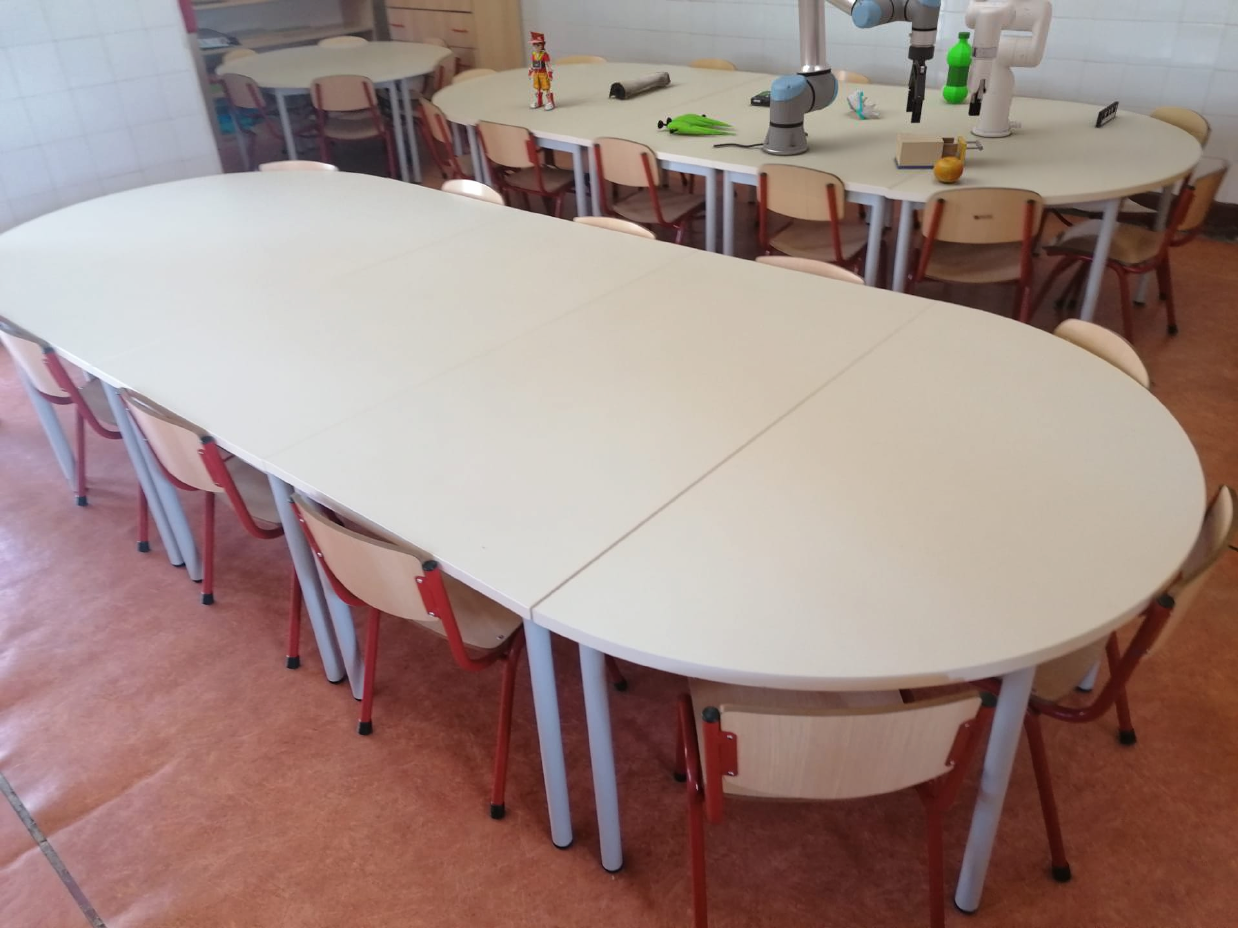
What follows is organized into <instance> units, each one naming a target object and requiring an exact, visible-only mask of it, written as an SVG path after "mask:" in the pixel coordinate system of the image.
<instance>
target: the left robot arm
mask: <svg viewBox="0 0 1238 928" xmlns="http://www.w3.org/2000/svg"><path fill="white" fill-rule="evenodd" d="M825 2H827V3H829V4H830V5H832V6H834V8H837V9H838V10H840V11H842V12H843V13H845V14H846V15H848V16H850V17H851V20H852V22H853V24H854V26H855V27H856V28H858V29H871V28H874V27H878V26H882V25H886V24H892V23H894V22H905V23H911V31H910V32H911V33H908V37H910V38H909V39H910V40H909V44H910V45H909V47H908V53H907V54H908V55H907V58H908V59H909V60H911V61H912V64H911V69H910V74H909V80H908V84H907V86H908V91H907V99H906V108H905V113H911V119H910V124H920V123H921V119H922V111H923V103H924V101H925V95H926V82H927V81H926V78H927V70H928V66H927V65H926V62H927V61H930V60H933V59H934V55H935V48H936V46H935V44H936V42H937V37H938V36H937V35H938V24H939V17H940V11H941V6H942V0H797V6H798V7H797V8H798V29H799V31H798V32H799V52H800V53H799V55H800V66H799V68H798V69H797V70H796V74H789V75H783V76H780V77H778V78H776V79H774V80H773V82H772V83H771V87H770V91H771V92H770V106H769V125H768V129H767V132H766V135H765V138H764V141H763V142H760V143H754V144H740V143H735V142H734V143H733V142H732V143H731V142H730V143H719V144H713V148H717V147H719V148H720V147H726V146H728V147H729V146H732V147H733V146H734V147H740V148H753V147H760V146H762V151H763V152H765V153H767V154H770V155H774V156H794V155H800V154H803V153H805V152H807V150H808V140H807V138H808V137H809V133H808V132H805V131H806V130H805V128H804V125H805V124H804V121H805V114H809V113H812V112H817V111H821V110H823V109H825V108H827V107H830V106H831V105H832V104H833V103H834V101H836V98H837V96H838V93H839V81H838V79H837V77H836V75H835V73H833V72H832V66H831V65H830V64H829V63H828V62H827V40H826V39H827V37H826V6H825Z"/></svg>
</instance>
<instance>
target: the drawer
mask: <svg viewBox="0 0 1238 928" xmlns="http://www.w3.org/2000/svg"><path fill="white" fill-rule="evenodd" d="M941 137H942V136H941ZM942 139H943V141H944V144H943V151H942V157H941V159H942V158H945V157H955V158H957V159H959V160H960V161H961V162H962V164H963V165H965V164H964V163H965V158H966V152H967V150H978V151H983V150H984V147H983V145H982V143H981V142H980V140H979V139H976V140H965V138H964V137H963V135H958V137H957V142H956V143H955V136H954V137H953V136H952V137H950V136H949V137H942ZM968 144H969V145H970V144H971V145H972V144H973V145H974V144H975V146H967V145H968Z"/></svg>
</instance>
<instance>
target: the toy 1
mask: <svg viewBox="0 0 1238 928" xmlns="http://www.w3.org/2000/svg"><path fill="white" fill-rule="evenodd" d="M529 33H530V35H531V36H528V37H527V38H528V39H529V40H528V41H527V43H529V44H530V43H531V44H532V48H533V50H534V51H533V52H532V55H531V58H530V59H531V63H530V66H528V74H527V75H528V76H527V77H528V79H529V80H531V75H532V74H533V84H532V85H533V86H532V87H533V88H534V89H535V90H536V92H534V95H535V97H536V100H535V101H533V102H531V105H530V108H531V109H535V108H538V107H542V106H544V101H543V100H544V99H543V95H544V92H546V94H545V97H546V99H547V103H546V104H545V106H544V110H546V111H549V110H553V109H554V107H555V106H556V105H555V99H554V92H551V91H550V90H551V86H552V84H551V82H552V81H553V80H554V77H553V73H554V71H555V70H554V69H552V68H551V63H550V61H551V59H550V58H551V57H550V54H549V53H548V52H547V50H546V48H545V46H546V44H547V41H545V35H544V33H543V32H542V33H539V32H535V31H529Z"/></svg>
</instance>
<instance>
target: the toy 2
mask: <svg viewBox="0 0 1238 928" xmlns="http://www.w3.org/2000/svg"><path fill="white" fill-rule="evenodd" d="M665 121H666V122H665V123H664V121H663V120H661V119H660V120H658V122H657V129H658V130H661V129H663V128H664V127H667V128H666V129H667V130H668V132H669V134H670V135H673V134H680V135H681V134H684V135H685V134H692V135H735V132H734V133H733V132H729V131H723V130H718V129H713V128H712V127H715V126H717V127H724V128H725V127H726V128H734V126H733V125H731V124H729V123H726V122H724V121H720V120H718V119H717V120H716V119H713V118H709V117H707V115H706V114H705V113H703V114H702V115H698V114H696V113H685V114H683V115H679V116H676V117H674V118H673V119H672V117H668V116H667V118H666V120H665Z"/></svg>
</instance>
